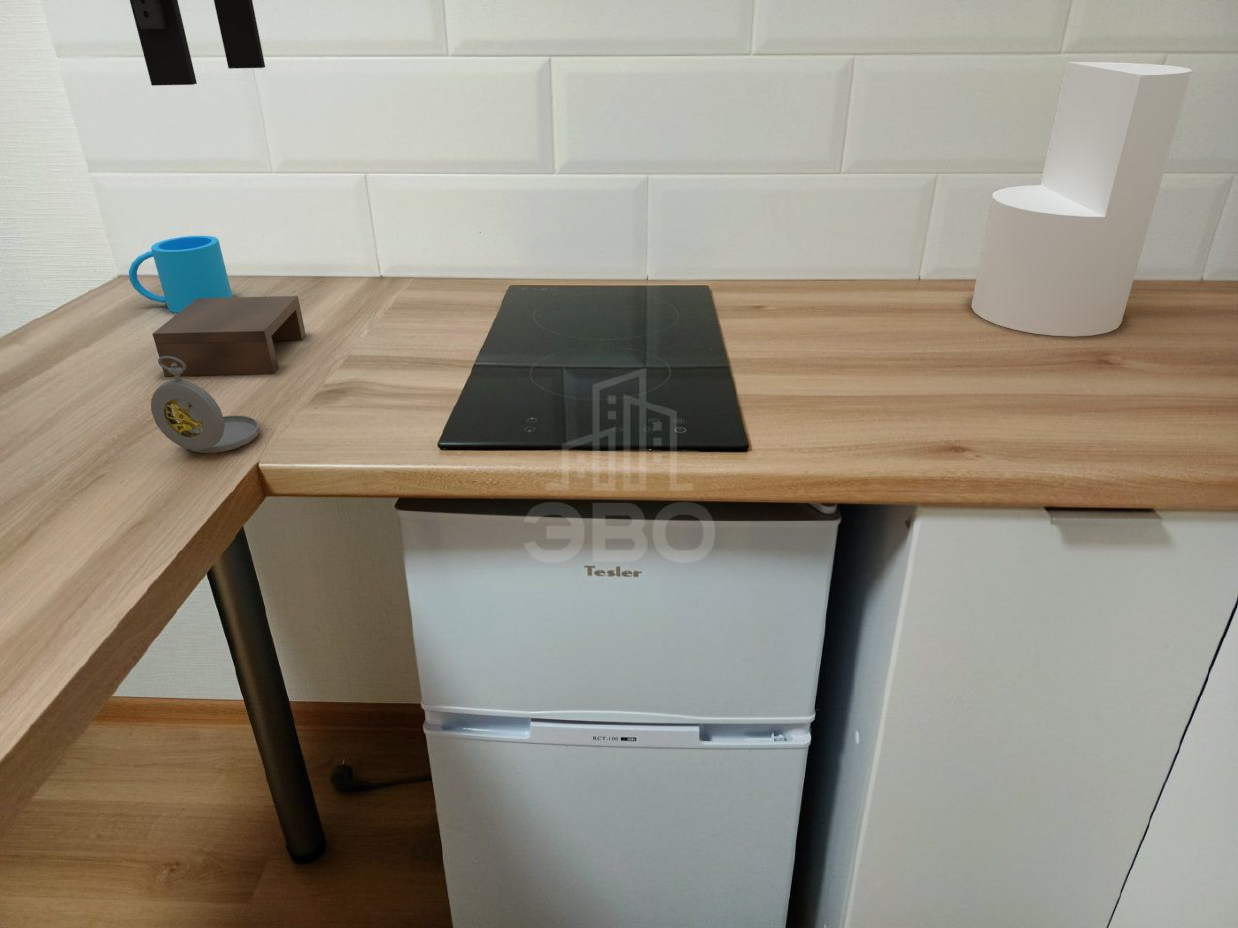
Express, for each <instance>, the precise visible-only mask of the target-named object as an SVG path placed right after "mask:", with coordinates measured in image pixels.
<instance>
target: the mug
mask: <svg viewBox="0 0 1238 928" xmlns="http://www.w3.org/2000/svg"><path fill="white" fill-rule="evenodd" d="M150 258H153V261H154V264H155V267H156V271H157V275H158V278H159V281H160V285H161V288H162V293H163V295H164V296H162V295H158V294H154V293H153V292H152V291H149V290H147V289H146V288H145V287H144V286H143V285H142V284H141V282H140V280H139V279H138V270H139V268H140V266H141V264H142V263H143V262H144V261H147V260H149V259H150ZM225 264H226V263H225V260H224V257H223V253H222V248H221V244H220V241H219V238H218V237H216V236H211V235H187V236H186V235H185V236H179V237H173V238H168V239H164V240H161V241H158V242H155V243H154V244H152V245H151V247H150V250H149V251H146V252H144V253H141V254H139V255H138V256H137V257H136V258H135V259H134V260H133V261H132V262H131V264H130V267H129V269H128V280H129V282H130V284H131V285H132V288H133V289H134V290H135V291H136V292H137V293H138V294H140V296H143V297H145V298H147V299H148V300H149V301H154V302H158V303H161V304H163V303H164V304H166V305H167V306H166V307H167V310H169V311H170V312H171V313H175V314H178V313H179V312H180V311H182V310H183V309H184V308H186V307H187V306H188V305H189V304H191V303H192V302H193V301H194V300H196V299H197V298H230V297H233V293H232V289H231V285H230V282H229V281H230V280H229V277H228V273H227V269H226V265H225Z"/></svg>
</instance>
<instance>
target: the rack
mask: <svg viewBox="0 0 1238 928" xmlns="http://www.w3.org/2000/svg"><path fill="white" fill-rule="evenodd" d="M306 335H307V333H306V329H305V323H304V319H303V314H302V309H301V303H300V300H299V295H282V296H281V295H280V296H279V295H278V296H239V297H238V296H237V297H235V296H232V297H230V298H197V299H196V300H194V301H193V302H192V303H191V304H189V305H188V306H187V307H186V308H184V309H183V310H182V311H180V312H179V313H176V314H175V315H174V316H173V317H171V318H170V319H169V320H167V321H166V322H165V323H164V324H163V325H161V326H160V327H159V328H157V329H156V330H155V331H153V332H152V338H153V342H154V344H155V348H156V352H157V353H158V354H157V355H158V359H159V358H160V357H162V356H171V357H175V358H178V359H179V360H181V361H182V362H184V363H185V365H186V369H185V370H184V371H183V372H182V374H180V377H192V376H194V377H196V376H199V377H200V376H231V375H232V376H233V375H234V376H235V375H236V376H237V375H239V376H240V375H274V374H276V372H277V371H278V370H279V364H278V359H277V354H276V350H275V346H274V342H275V341H303V340H304V338H305V337H306ZM161 363H162V364H163V365H164V366H166V367H168V368H171V365H172V363H175V364H177V366H176V367H179V368H181V369H182V368H183V366H182V364H181V363H179V362H178V361H176V360H174V359H169V358H164V359H162V361H161ZM161 368H162V371H163V375H164V377H174V375H173V374H171V373H170V372H169V370H166V369H164V368H163V367H161Z"/></svg>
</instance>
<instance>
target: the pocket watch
mask: <svg viewBox="0 0 1238 928" xmlns="http://www.w3.org/2000/svg"><path fill="white" fill-rule="evenodd" d="M164 358H169V359H174V360H176V361H178V362H179V363H181V364H182V366H183V368H182V369H181V368H179V367H176V366H177V364H175V363H172V365H171V368H168V367H166V366H164V365H163V364H162V363H161V361H162V359H164ZM157 363H158V365H159V366H160V367H161V368H162V367H163V368H164V369H166V370H169V372H170V373H171V374H173V375H174V376H173V378H174V379H169V380H168V381H165V382H164V383H162V384H161V385H159V386H158V387H157V388H156V390H155V391H154V393H153V394H152V396H151V398H150V399H151V400H150V410H151V411H150V412H151V414H152V417H153V420H154V422H155V424H156V426H157V427H158V429H159V430H160V432H161V433H162V434H163V435H164V436H165V437H166V438H167V439H168V440H169V441H171V442H172V443H174V444H175V445H177V446H179V447H180V448H183V449H186V450H189V451H192V452H194V453H201V454H215V453H216V454H217V453H222V452H223V453H224V452H227V451H232V450H235V449H238V448H241V447H243V446H245V445H247V444H249V443H250V442H251V441H253V440H254V439H256V438H257V436H258V435H259V433H260V424H259V422H258V420H257V419H255V418H253V417H251V416H247V415H239V414H237V415H224V414H223V413H222V410H221V407H220V405H219V404H218V403H217V401H216V400H215V399H214V397H213V396H211V395H210V393H209V392H208V391H207V390H205V389H204V388H202V387H201V386H199V385H198V384H196V383H194V382H192V381H190V380H185V379H182V376H180V374H182V372H183V371H184V370H185V369H186V365H185V363H184V362H182V361H181V360H179V359H178V358H175V357H171V356H162V357H160V358H159V357H158V359H157Z"/></svg>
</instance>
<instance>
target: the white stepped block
mask: <svg viewBox="0 0 1238 928" xmlns="http://www.w3.org/2000/svg"><path fill="white" fill-rule="evenodd" d="M1192 73H1193V69H1191V68H1188V67H1184V66H1176V65H1168V64H1157V63H1156V64H1155V63H1142V62H1140V63H1139V62H1138V63H1137V62H1117V61H1116V62H1115V61H1113V62H1112V61H1066V63H1065V69H1064V73H1063V78H1062V83H1061V86H1060V87H1061V88H1060V93H1059V97H1058V101H1057V106H1056V109H1055V110H1056V111H1055V115H1054V120H1053V125H1052V129H1051V134H1050V137H1049V138H1050V139H1049V142H1048V148H1047V153H1046V158H1045V161H1044V166H1043V171H1042V176H1041V181H1040V184H1032V185H1031V184H1030V185H1017V186H1009V187H1004V188H1001V189H998V190H995V191H994V192H992V195H991V199H990V205H989V206H990V207H989V209H988V210H989V211H988V216H987V221H986V226H985V231H984V238H983V241H982V248H981V253H980V257H979V262H978V268H977V274H976V280H975V284H974V289H973V295H972V301H971V306H970V307H971V309H972V311H973V313H974V314H976V315H977V316H979V317H980V318H982V319H983V320H984V321H985V320H986V321H987V322H990V323H992V324H994V325H997V326H1000V327H1004V328H1007V329H1011V330H1014V331H1019V332H1025V333H1029V334H1036V335H1044V336H1053V337H1075V338H1076V337H1088V336H1089V337H1091V336H1097V335H1098V336H1099V335H1103V334H1108V333H1110V332H1112V331H1115V330H1118V328H1119V327H1120V325H1121V324H1122V323H1123V318H1124V315H1125V311H1126V307H1127V305H1128V300H1129V297H1130V293H1131V290H1132V287H1133V284H1134V283H1133V282H1134V279H1135V276H1136V272H1137V269H1138V265H1139V261H1140V258H1141V255H1142V252H1143V247H1144V243H1145V240H1146V236H1147V233H1148V229H1149V225H1150V222H1151V218H1152V215H1153V212H1154V209H1155V204H1156V201H1157V197H1158V194H1159V190H1160V186H1161V184H1162V179H1163V176H1164V172H1165V169H1166V165H1167V162H1168V158H1169V155H1170V151H1171V147H1172V144H1173V141H1174V137H1175V134H1176V130H1177V126H1178V123H1179V119H1180V117H1181V116H1180V114H1181V113H1182V109H1183V105H1184V101H1185V98H1186V94H1187V90H1188V86H1189V83H1190V80H1191V77H1192Z"/></svg>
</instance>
